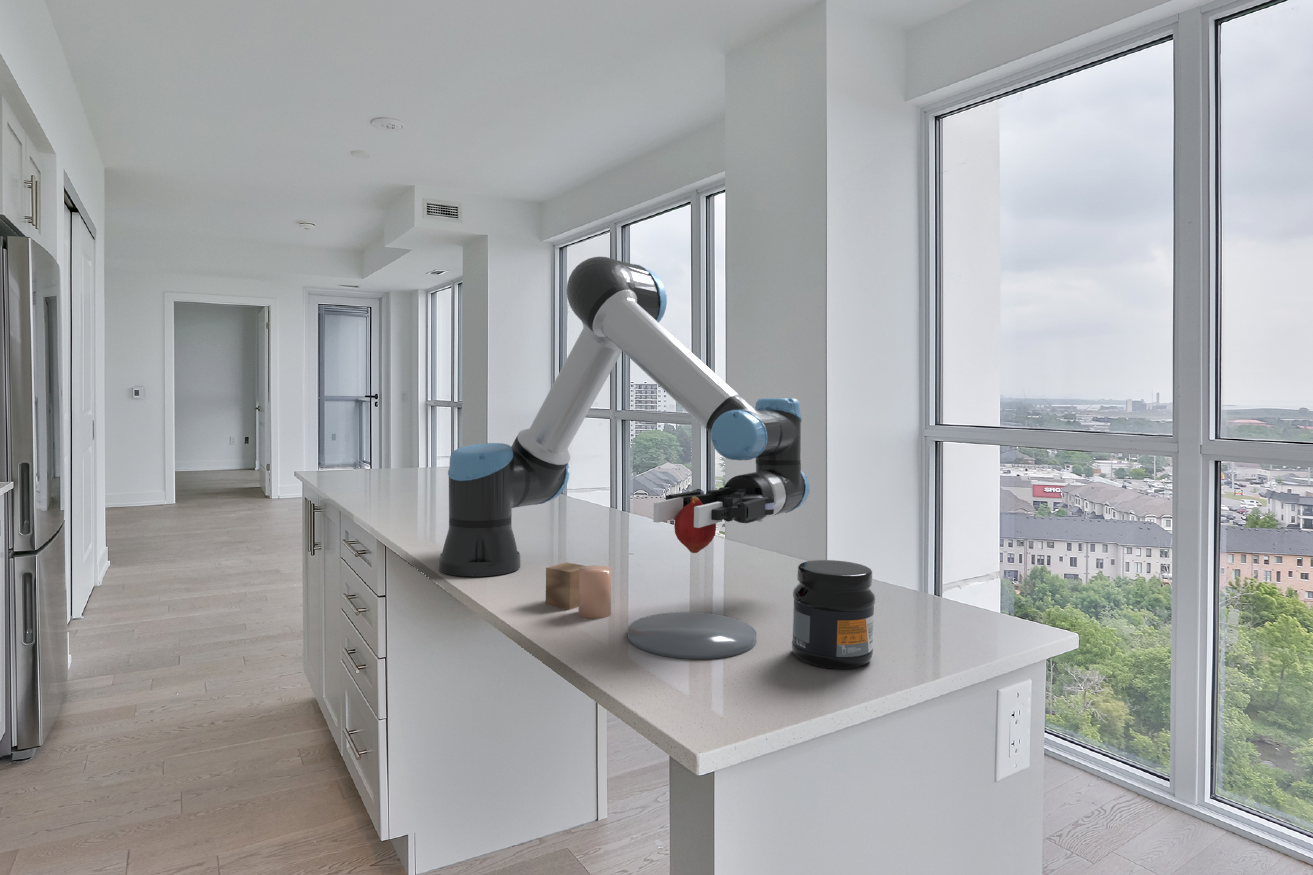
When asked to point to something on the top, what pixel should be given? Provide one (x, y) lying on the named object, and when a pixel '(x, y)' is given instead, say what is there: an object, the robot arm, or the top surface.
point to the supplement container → (833, 614)
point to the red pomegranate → (692, 528)
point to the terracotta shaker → (594, 592)
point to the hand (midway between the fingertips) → (676, 514)
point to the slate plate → (692, 635)
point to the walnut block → (563, 585)
